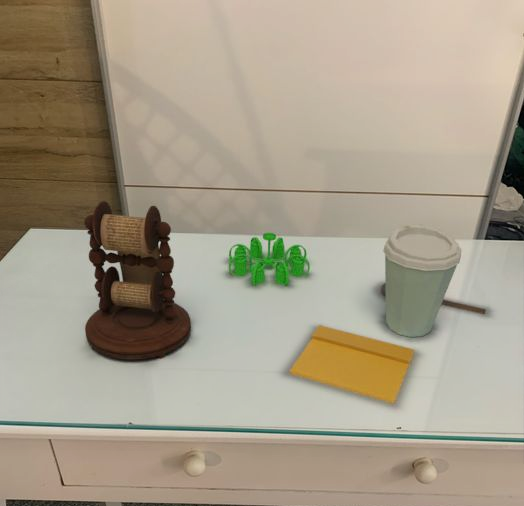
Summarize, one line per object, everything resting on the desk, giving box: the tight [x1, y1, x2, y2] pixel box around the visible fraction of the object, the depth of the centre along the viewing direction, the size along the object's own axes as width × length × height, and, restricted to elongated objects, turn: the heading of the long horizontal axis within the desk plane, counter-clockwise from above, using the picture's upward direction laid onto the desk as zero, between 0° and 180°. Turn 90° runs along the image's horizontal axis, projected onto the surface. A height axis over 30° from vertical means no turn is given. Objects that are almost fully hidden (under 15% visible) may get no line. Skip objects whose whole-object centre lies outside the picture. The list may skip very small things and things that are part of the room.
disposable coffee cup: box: [382, 224, 462, 338], centre depth 80 cm, size 11×11×15 cm
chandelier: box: [228, 232, 311, 287], centre depth 97 cm, size 15×15×7 cm
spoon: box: [380, 282, 487, 315], centre depth 91 cm, size 17×6×1 cm, turn 66°
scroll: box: [83, 200, 192, 360], centre depth 75 cm, size 15×15×20 cm
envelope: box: [289, 324, 415, 405], centre depth 76 cm, size 14×12×2 cm
